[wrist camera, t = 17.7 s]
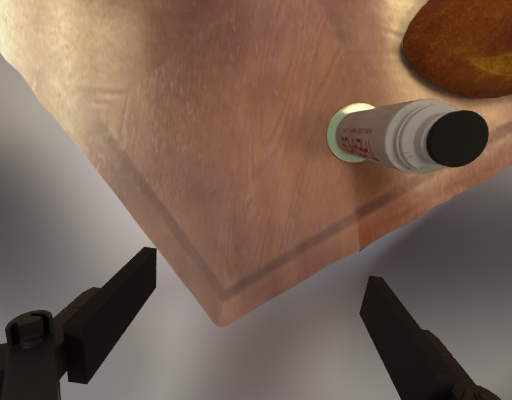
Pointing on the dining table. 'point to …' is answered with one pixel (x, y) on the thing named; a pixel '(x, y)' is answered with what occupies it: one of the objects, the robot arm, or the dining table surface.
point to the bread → (463, 46)
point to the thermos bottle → (414, 135)
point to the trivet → (333, 125)
